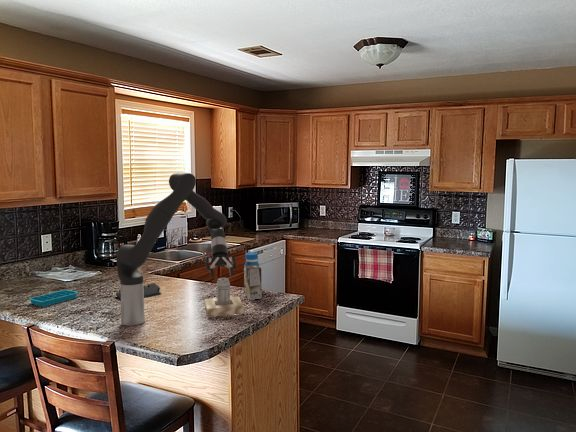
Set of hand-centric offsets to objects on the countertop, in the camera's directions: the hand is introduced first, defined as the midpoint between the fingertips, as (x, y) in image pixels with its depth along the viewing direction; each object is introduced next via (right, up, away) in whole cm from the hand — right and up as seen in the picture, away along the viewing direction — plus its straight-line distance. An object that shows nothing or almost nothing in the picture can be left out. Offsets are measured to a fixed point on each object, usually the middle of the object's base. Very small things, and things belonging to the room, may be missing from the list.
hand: (221, 276), depth 212 cm
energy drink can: (+1, -16, -4) cm, 16 cm away
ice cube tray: (-86, -15, +13) cm, 88 cm away
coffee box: (+14, -14, +17) cm, 25 cm away
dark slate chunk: (-47, -14, +23) cm, 54 cm away
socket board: (+2, -15, -5) cm, 16 cm away
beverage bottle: (+11, -12, +33) cm, 37 cm away
